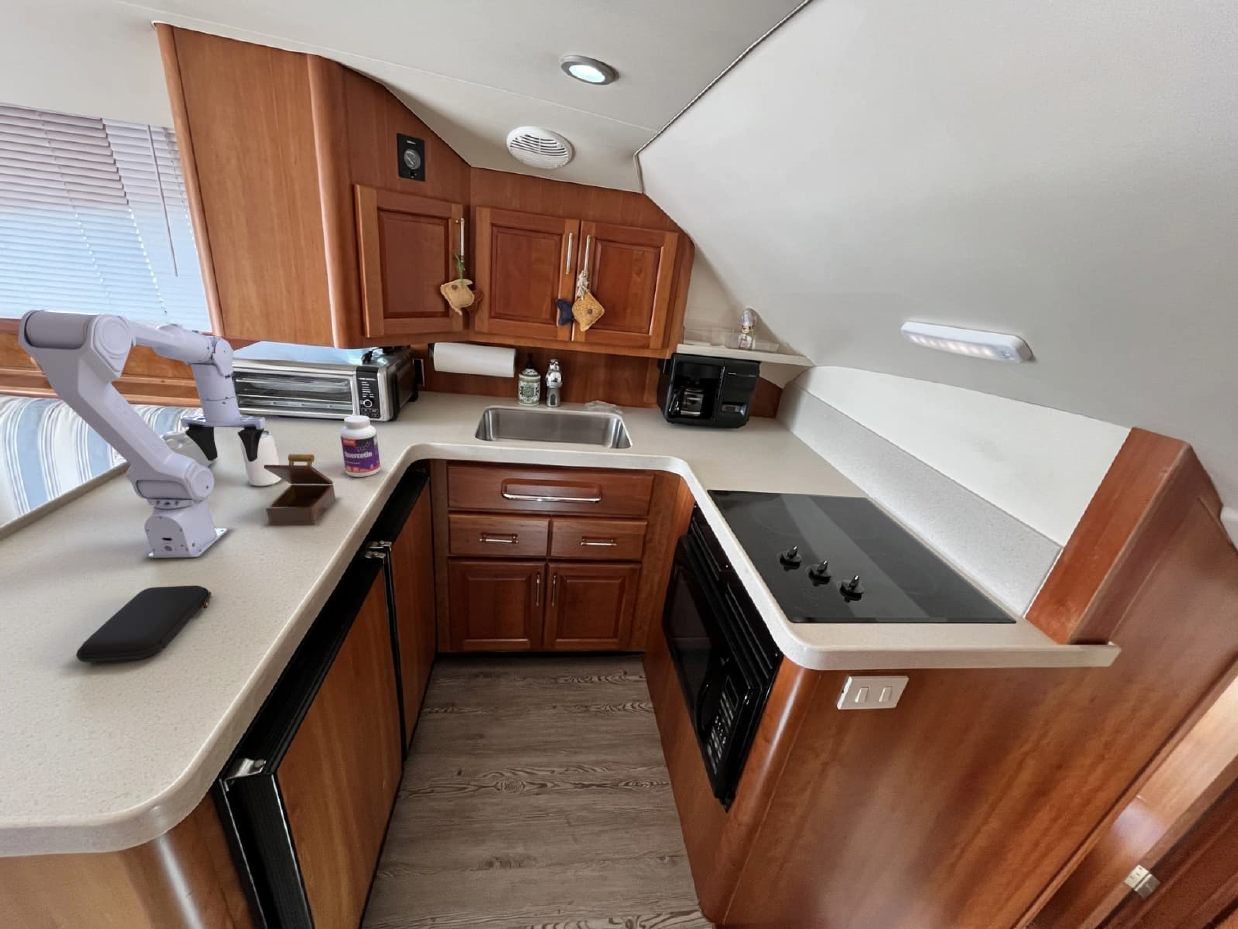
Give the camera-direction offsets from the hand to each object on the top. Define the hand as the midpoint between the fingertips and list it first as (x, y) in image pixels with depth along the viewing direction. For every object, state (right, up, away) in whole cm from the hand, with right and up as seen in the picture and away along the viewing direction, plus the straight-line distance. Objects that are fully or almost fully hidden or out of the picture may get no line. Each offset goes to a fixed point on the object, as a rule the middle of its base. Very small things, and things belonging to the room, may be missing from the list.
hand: (233, 459), depth 103 cm
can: (-3, -5, +14) cm, 15 cm away
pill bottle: (+16, -3, +23) cm, 28 cm away
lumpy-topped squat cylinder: (-26, -3, +16) cm, 31 cm away
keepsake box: (+13, -11, +3) cm, 18 cm away
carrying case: (+13, -26, -31) cm, 42 cm away
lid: (+14, -4, +1) cm, 14 cm away
